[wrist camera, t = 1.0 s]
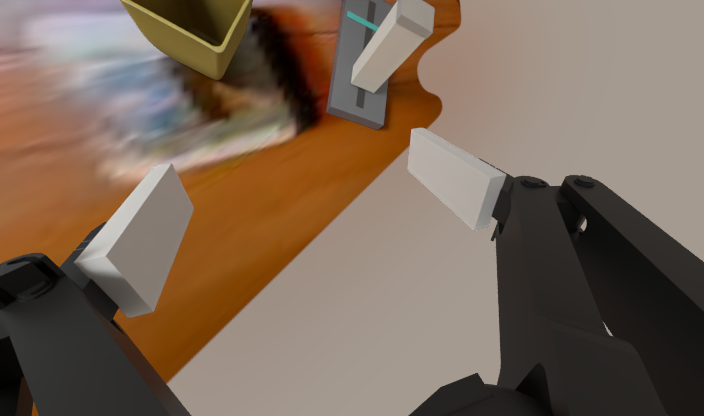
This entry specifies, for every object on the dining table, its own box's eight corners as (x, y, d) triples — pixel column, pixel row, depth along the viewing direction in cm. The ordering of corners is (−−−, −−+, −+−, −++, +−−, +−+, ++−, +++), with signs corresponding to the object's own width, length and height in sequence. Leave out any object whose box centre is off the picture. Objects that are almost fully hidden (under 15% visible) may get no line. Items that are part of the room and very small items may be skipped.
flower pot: (181, 6, 31) (161, -75, 23) (251, 47, 34) (256, -12, 26) (147, 62, 29) (113, -6, 21) (225, 100, 32) (221, 54, 24)
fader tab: (374, 93, 39) (432, 32, 27) (350, 84, 37) (401, 14, 26) (376, 75, 40) (434, 8, 28) (352, 65, 38) (403, -12, 26)
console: (377, 130, 41) (384, 124, 40) (326, 112, 38) (330, 105, 36) (389, 17, 45) (396, 7, 43) (344, -9, 42) (349, -21, 40)
